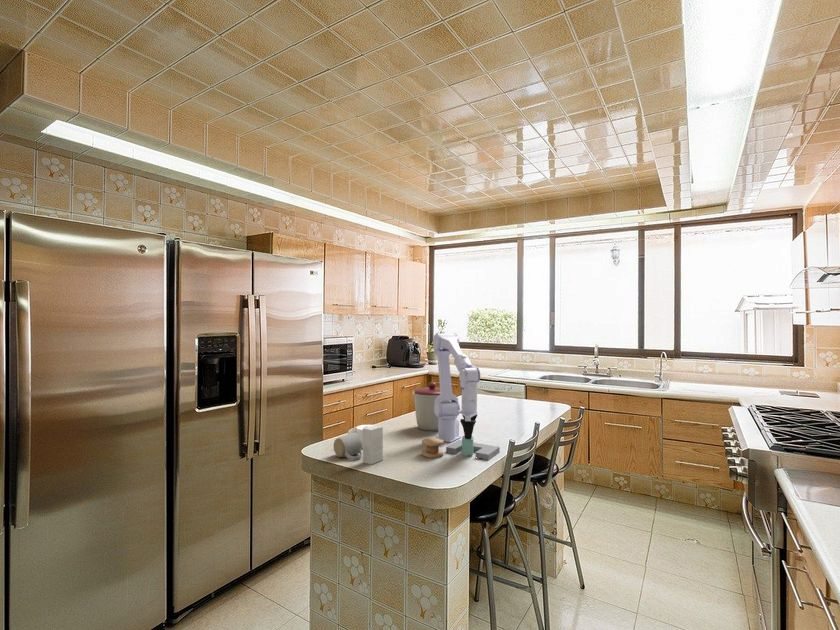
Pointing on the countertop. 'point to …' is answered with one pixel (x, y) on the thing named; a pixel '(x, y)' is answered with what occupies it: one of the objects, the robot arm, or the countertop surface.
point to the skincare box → (372, 444)
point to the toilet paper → (359, 431)
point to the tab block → (467, 446)
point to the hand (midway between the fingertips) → (468, 436)
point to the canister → (426, 407)
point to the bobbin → (432, 447)
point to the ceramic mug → (348, 446)
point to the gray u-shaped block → (475, 449)
